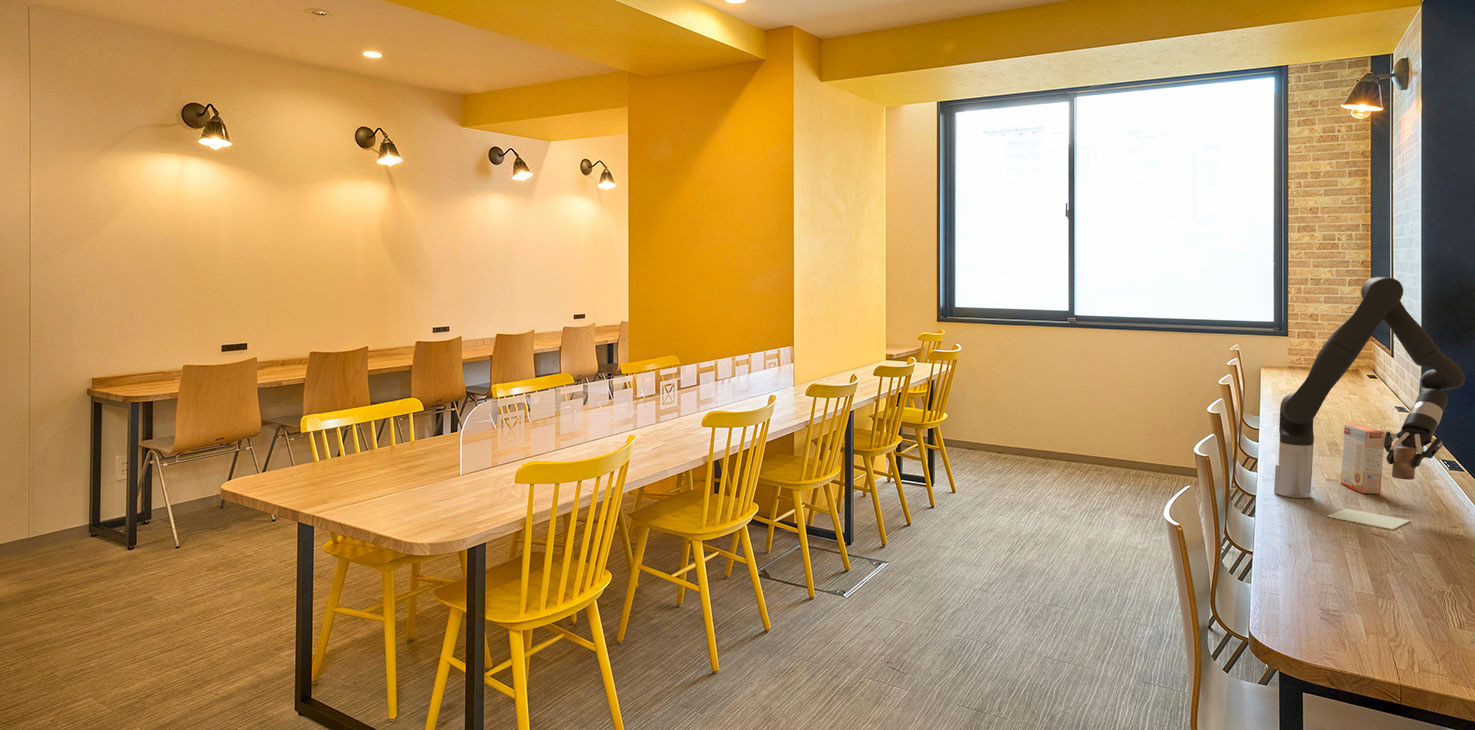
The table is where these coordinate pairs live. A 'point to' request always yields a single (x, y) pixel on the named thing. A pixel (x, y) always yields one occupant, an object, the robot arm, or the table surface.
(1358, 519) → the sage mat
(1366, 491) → the cracker box
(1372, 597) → the table surface
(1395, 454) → the walnut cylinder
